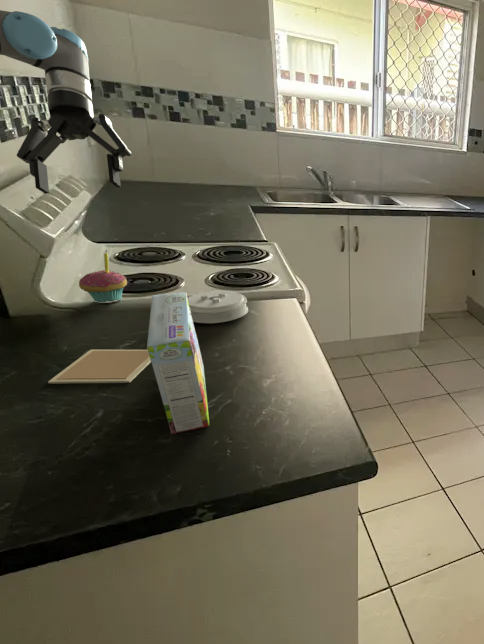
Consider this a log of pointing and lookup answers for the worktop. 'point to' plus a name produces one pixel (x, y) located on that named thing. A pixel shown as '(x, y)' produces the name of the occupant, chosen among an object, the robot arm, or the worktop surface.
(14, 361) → the worktop surface
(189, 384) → the snack box
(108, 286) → the cupcake
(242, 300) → the lid
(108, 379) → the tan square board
